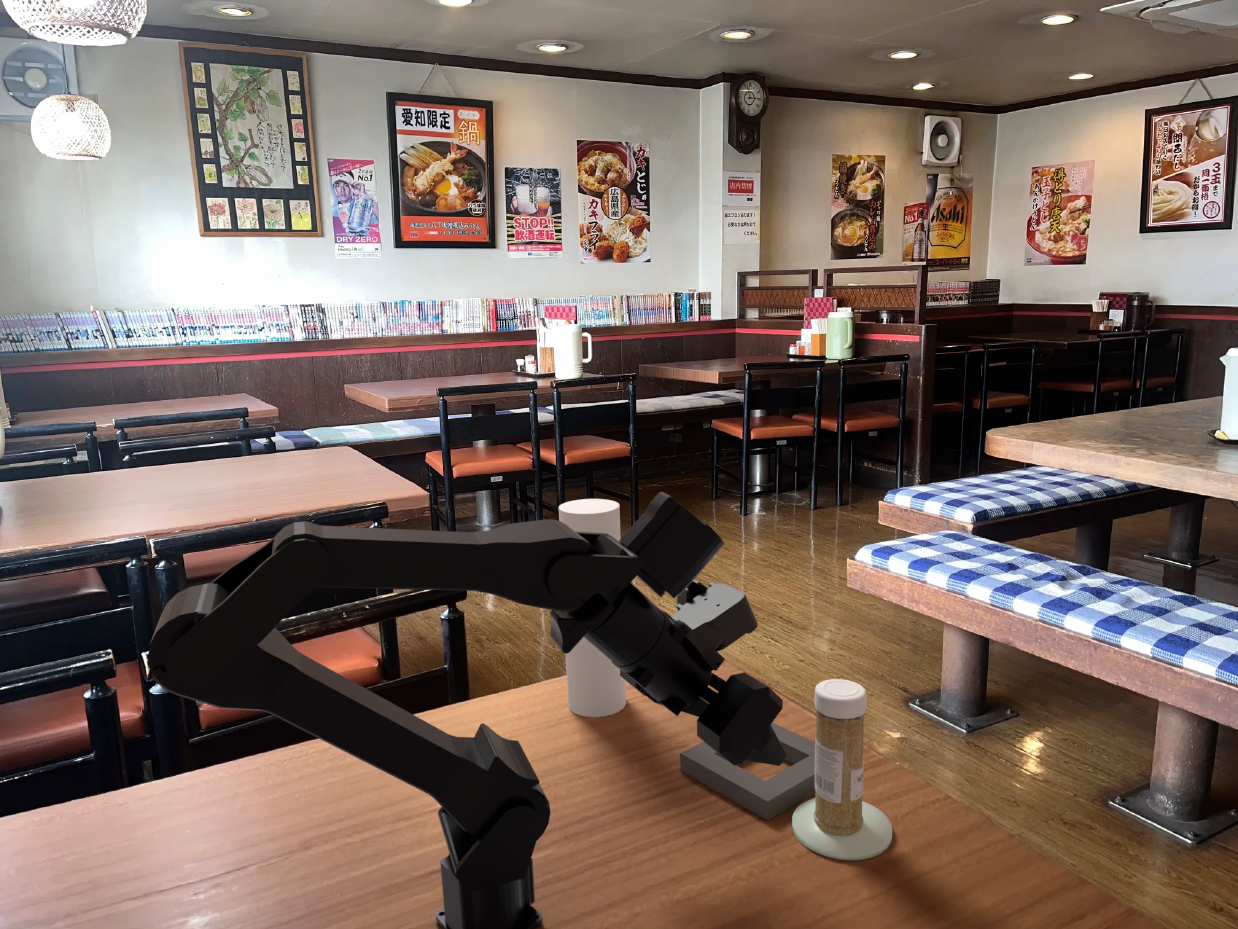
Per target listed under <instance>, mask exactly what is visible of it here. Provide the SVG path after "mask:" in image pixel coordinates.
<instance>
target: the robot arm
mask: <svg viewBox="0 0 1238 929" xmlns="http://www.w3.org/2000/svg"><path fill="white" fill-rule="evenodd" d="M619 541H620V542H621V543H620V542H619ZM619 541H618V540H616V539H615V538H614V537H612V536H611V535H609V534H607V533H591V532H575V531H574V530H573V529H572V528H570V527H569V526H568V525H566V524H564V523H563V522H561V521H559V520H557V519H556V520H555V519H551V518H549V519H538V520H532V521H531V520H529V521H524V522H523V521H522V522H515V523H507V524H505V525H501V526H499V527H494V528H491V529H488V530H482V531H473V532H469V531H467V532H466V531H449V530H448V531H446V530H445V531H443V530H425V529H406V528H405V529H402V528H382V527H381V528H379V527H378V528H377V527H359V526H358V527H357V526H356V527H355V526H336V525H334V526H333V525H320V524H317V523H313V522H311V521H305V520H304V521H297V522H296V521H294V522H293V523H290V524H287V525H285V526H283V527H282V528H281V529H280V531H279V532H277V533H276V535H275V536H274V537H272V539H270V540H268V541H267V542H266V543H265V544H264V545H262V546H261V547H259V548H257V549H256V550H254V551H253V552H251V553H249V554H248V555H247V556H245V557H243V558H242V559H240V560H238V561H237V562H235V563H234V564H232V565H231V566H229V567H228V568H227V569H226V570H224V571H223V572H222V573H221V574H220V575H218V576H217V577H215V579H214V580H212V581H211V582H207V583H204V584H198V585H193V586H189V587H187V588H184V589H183V590H181V591H179V592H177V593H176V594H175V595H174V596H173V597H172V598H170V600H169V601H167V603H166V604H165V607H164V609H163V611H162V613H161V615H160V617H159V620H158V622H157V624H156V628H155V630H154V633H153V635H152V638H151V640H150V643H149V645H148V654H147V660H148V664H149V668H150V672H151V677H152V678H153V679H154V681H155V682H156V683H157V685H158V686H160V687H161V688H162V689H164V690H166V691H167V692H168V693H170V694H173V695H176V696H179V697H182V698H186V699H189V700H192V701H195V702H199V703H201V704H205V705H209V706H212V707H215V708H218V709H224V710H225V709H226V710H227V709H228V710H240V711H241V710H242V711H258V712H259V711H260V712H265V713H267V714H270V715H272V716H274V717H277V718H279V719H280V720H282V721H283V722H287V723H288V724H290V725H292V726H294V727H295V728H297V729H299V730H302V731H304V732H305V733H307V734H310V735H312V736H313V737H315V738H317V739H319V740H321V741H323V742H325V743H327V744H329V745H331V746H333V747H335V748H336V749H339V750H341V751H343V752H345V753H347V754H349V755H350V756H353V757H355V758H356V759H358V760H360V761H362V762H364V763H367V764H368V765H370V766H372V767H374V768H376V769H378V770H380V771H382V772H384V773H386V774H388V775H390V776H392V777H394V778H395V779H398V780H400V782H401V781H402V782H404V783H406V784H407V785H410V786H412V787H413V788H415V789H417V790H419V791H421V792H422V793H423V792H424V793H425V794H426V795H429V796H431V797H432V798H433V799H434V800H435V801H436V802H437V804H439V805H440V808H439V810H437V815H438V820H439V822H440V826H441V830H442V833H443V836H444V839H445V843H446V847H447V849H448V855H447V856H446V857H443V858H441V859H440V862H439V864H440V873H441V875H440V877H441V886H442V897H443V898H442V900H443V908H442V909H440V910H438V911H436V913H435V921H436V922H437V923H438V925H439V926H440V927H441V928H442V929H536V928H538V927H539V926H541V925H542V924H543V915H542V913H540V911H538V910H537V909H536V908H535V907H534V906H533V904H534V903H535V902H536V893H535V878H534V877H535V876H534V875H535V873H534V859H533V854H534V850H535V848H536V844H537V841H539V839H541V837H542V836H543V835H544V833H545V832H546V829H547V828H548V826H549V823H550V818H551V807H550V806H551V805H550V801H549V799H548V797H547V795H546V793H545V791H544V790H543V788H542V785H541V784H540V779H539V777H538V775H537V774H536V771H535V770H534V768H533V766H532V764H531V762H530V761H529V760H530V759H529V758H528V757H527V755H526V752H525V751H524V749H523V747H522V745H521V743H520V741H519V740H515V739H513V740H512V739H507V738H506V737H502V736H501V735H500V734H498V733H497V732H496V731H494V729H492V728H491V727H490V726H489V725H487V724H485V723H483V722H482V723H480V724H479V726H478V729H477V731H476V732H475V734H474V736H472V737H471V736H470V737H468V736H455V735H453V734H449V733H448V732H445V731H443V730H442V729H440V728H438V727H436V726H434V725H433V724H430V723H429V722H427V721H425V720H424V719H423V718H422V719H421V718H420V717H418V716H416V715H415V714H413V713H411V712H410V711H407V710H405V709H404V708H402V707H400V706H399V705H396V704H395V703H392V702H391V701H390V700H387V699H385V698H383V697H382V696H380V695H378V694H377V693H374V692H372V691H371V690H368V689H367V688H365V687H363V686H362V685H360V684H358V683H357V682H354V681H352V680H350V679H349V678H347V677H345V676H343V675H341V674H340V673H338V672H336V671H334V670H332V669H331V668H329V667H327V666H326V665H323V663H322V664H321V663H320V662H318V661H315V659H312V658H310V657H309V656H308V655H307V656H306V655H305V654H304V653H301V652H300V651H298V649H296V648H295V647H294V646H293V645H292V644H291V643H290V642H289V641H288V640H287V638H285V637H284V636H283V634H282V633H281V632H280V631H279V630H278V629H277V626H278V625H279V624H280V622H282V620H284V618H285V617H286V616H288V614H289V613H290V612H291V611H292V610H293V608H295V607H296V606H297V605H298V603H299V602H300V601H302V600H303V599H304V598H305V597H307V595H309V594H310V593H311V592H312V591H314V590H315V589H319V588H322V589H323V588H324V589H325V588H326V589H328V588H329V589H368V590H369V589H370V590H371V589H372V590H373V589H374V590H375V589H376V590H415V591H416V590H417V591H418V590H421V591H454V592H455V591H456V592H457V591H462V592H463V591H465V592H479V593H484V594H489V595H493V596H496V597H499V598H503V599H505V600H508V601H511V602H514V603H516V604H518V605H519V604H520V605H523V606H530V607H534V608H539V609H544V610H550V612H549V615H550V618H551V624H550V631H549V636H550V638H551V639H552V640H553V642H554V643H555V644H556V646H558V648H559V650H560V651H561V652H562V653H563V654H565V655H566V654H567V653H569V652H571V650H572V649H573V648H574V647H575V646H576V645H577V644H578V642H579V641H580V640H581V639H582V638H583V637H584V638H586V639H587V640H588V641H589V642H590V643H591V644H593V645H594V646H595V647H596V648H597V649H598V650H599V651H601V652H602V653H603V654H604V655H605V656H606V657H608V658H609V659H610V660H611V661H612V663H613V664H614V665H615V666H617V667H618V668H619V669H620V676H621V677H622V678H623V679H625V682H627V683H628V684H629V685H630V686H632V687H633V688H634V689H636V690H637V692H639V693H640V694H642V695H643V697H644V696H646V697H647V698H648V699H649V700H650V701H652V702H653V703H654V704H658V705H661V706H663V707H664V708H666V709H667V710H669V712H671V713H672V714H674V715H675V716H676V717H679V715H680V714H681V712H682V713H685V714H689V715H692V716H694V717H697V719H696V736H697V737H698V738H699V739H700V740H702V742H703V741H704V742H705V743H706V744H707V745H709V746H710V747H711V748H712V749H714V750H715V751H716V752H717V753H718V754H720V755H721V756H722V757H724V758H725V759H726V760H727V761H729V762H730V763H731V764H733V765H734V766H735V765H736V766H738V765H740V764H742V763H743V764H744V762H750V763H758V764H759V763H760V764H766V765H772V766H778V767H779V766H782V764H783V763H784V762H785V758H786V757H787V754H786V752H785V751H784V749H783V747H782V745H781V743H780V741H779V739H778V737H777V736H776V734H775V732H774V730H773V728H772V725H771V724H772V723H774V721H775V719H776V718H777V717H778V715H779V714H780V713H781V711H782V710H783V709H784V707H783V705H784V704H783V699H782V698H781V697H780V696H779V695H778V693H776V692H775V691H774V690H773V689H772V688H771V687H769V686H768V685H767V684H765V683H763V682H762V681H760V680H758V679H756V678H755V677H754V676H751V675H750V674H748V673H746V672H745V671H744V672H740V673H734V674H731V675H730V676H729V677H728V679H726V680H724V679H723V678H721V677H720V676H718V675H716V674H715V673H713V671H715V672H716V671H718V670H719V669H720V667H721V666H722V665H723V663H724V662H725V661H726V658H725V657H724V656H723V655H721V654H720V653H719V651H723V650H725V649H726V648H728V647H729V646H730V645H732V644H733V643H735V642H737V641H738V640H739V639H741V638H742V637H744V636H745V635H746V634H751V633H753V632H755V630H756V629H757V628H758V620H757V618H756V616H755V614H754V612H753V610H752V606H751V604H750V602H749V600H748V598H747V595H746V593H745V592H744V591H742V590H739V589H738V588H735V587H733V586H731V585H729V584H728V583H727V584H726V583H723V582H721V583H715V582H713V581H711V582H709V583H708V586H709V587H707V586H706V585H704V584H703V583H701V582H700V581H698V580H696V577H697V576H699V575H700V574H701V572H703V570H704V569H705V568H706V566H708V564H709V563H710V562H711V561H712V560H713V559H714V557H716V555H717V554H718V553H719V552H720V551H721V550H722V548H723V547H724V546H725V542H724V541H723V539H722V538H721V536H720V534H718V533H717V532H716V531H715V530H714V529H713V528H712V527H711V526H710V525H709V524H708V523H707V522H704V521H702V519H701V520H700V519H699V518H697V517H696V516H695V515H694V514H692V513H691V511H689V510H688V509H687V508H685V507H684V506H682V505H681V504H680V503H679V502H678V501H677V500H676V498H674V497H673V496H671V495H669V494H667V493H666V492H664V491H660V492H658V493H657V494H656V495H655V496H654V498H652V500H651V501H650V503H649V504H648V506H647V507H646V510H645V511H644V513H642V515H641V516H640V517H639V518H638V519H637V520H636V521H635V522H634V523H633V524H632V526H631V527H630V528H629V529H628V530H627V531H626V532H625V534H624V535H622V537H621V539H620V540H619ZM636 578H637V579H638V580H640V581H641V583H643V584H644V585H645V586H646V587H647V588H648V589H649V590H650V591H652V592H653V593H655V595H657V596H658V597H659V598H660V599H661V598H662V597H664V595H665V594H666V593H667V595H669V596H670V597H671V598H672V599H676V603H677V604H676V605H675V607H676V609H677V611H676V612H675V613H673V615H671V616H670V615H669V613H667V612H666V611H664V610H662V609H661V608H660V607H658V606H657V605H656V604H655V603H654V602H653V601H651V599H650V598H648V597H647V596H646V595H645V594H644V593H643V592H642V591H641V590H640V589H639V588H638V587H637V586H635V585H634V584H633V583H632V582H633V580H635V579H636Z"/></svg>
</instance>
